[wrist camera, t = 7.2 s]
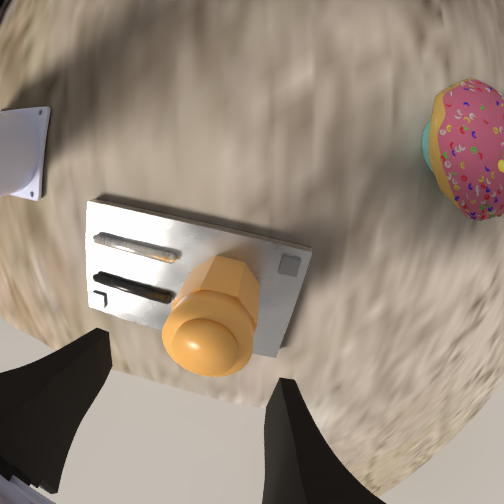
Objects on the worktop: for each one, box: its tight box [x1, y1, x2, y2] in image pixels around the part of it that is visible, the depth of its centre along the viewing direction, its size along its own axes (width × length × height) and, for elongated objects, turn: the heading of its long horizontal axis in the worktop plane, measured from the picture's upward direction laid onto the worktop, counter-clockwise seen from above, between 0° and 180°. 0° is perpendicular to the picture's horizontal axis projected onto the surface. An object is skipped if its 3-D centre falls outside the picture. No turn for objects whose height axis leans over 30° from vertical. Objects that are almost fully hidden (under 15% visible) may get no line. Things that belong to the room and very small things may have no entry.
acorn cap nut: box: [162, 255, 260, 377], centre depth 16 cm, size 5×5×7 cm
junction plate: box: [86, 199, 313, 358], centre depth 18 cm, size 16×9×4 cm, turn 77°
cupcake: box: [422, 79, 504, 221], centre depth 10 cm, size 9×8×12 cm
